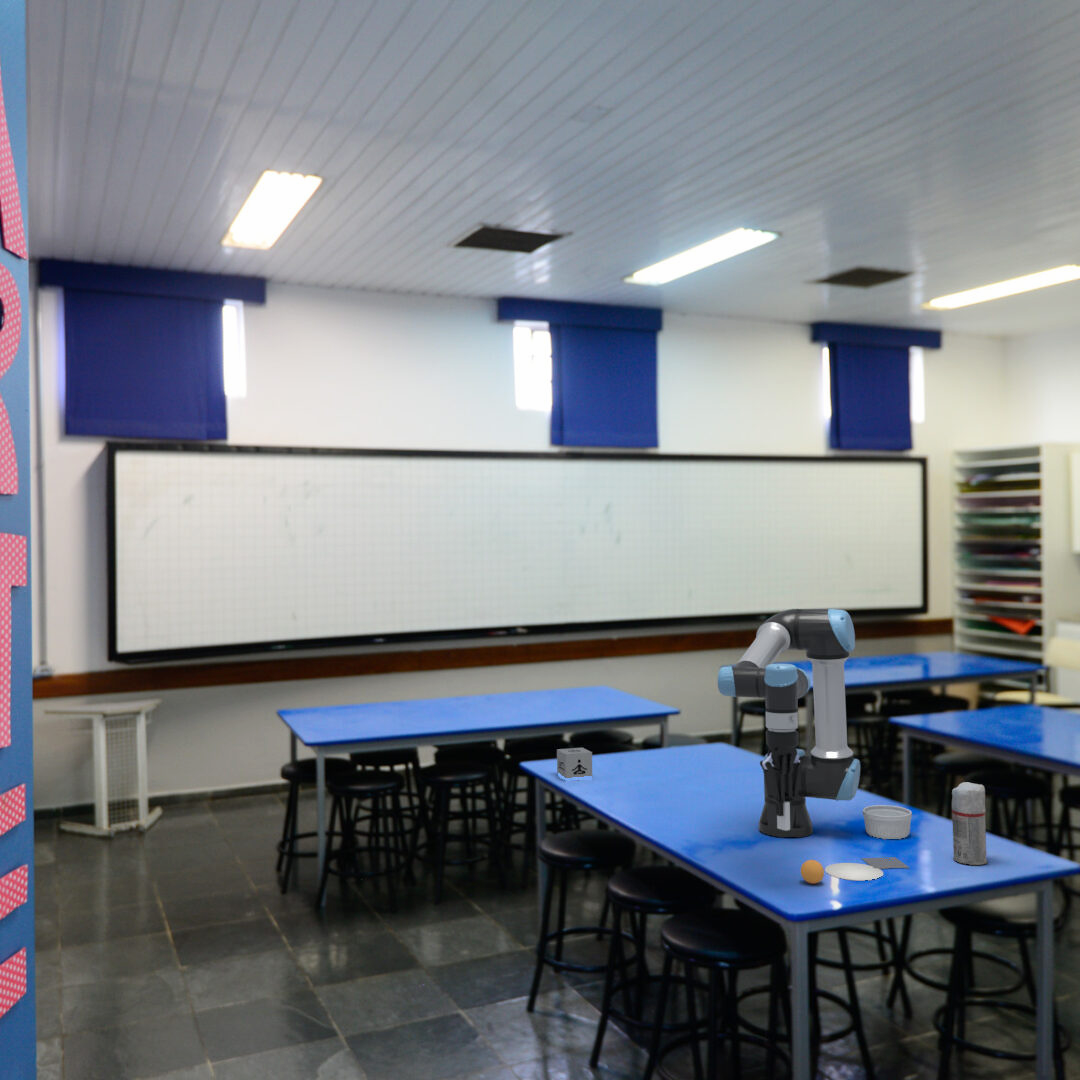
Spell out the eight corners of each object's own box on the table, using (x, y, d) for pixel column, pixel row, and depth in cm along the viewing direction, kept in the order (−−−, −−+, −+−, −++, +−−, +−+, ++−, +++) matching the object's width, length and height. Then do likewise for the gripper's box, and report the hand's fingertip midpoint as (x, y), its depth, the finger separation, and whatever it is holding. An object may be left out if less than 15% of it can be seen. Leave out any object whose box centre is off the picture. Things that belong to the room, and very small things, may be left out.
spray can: (988, 867, 256) (986, 788, 257) (953, 864, 259) (951, 786, 260) (986, 858, 264) (985, 781, 264) (952, 855, 267) (951, 779, 267)
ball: (803, 878, 250) (803, 855, 250) (826, 881, 248) (825, 858, 248) (798, 884, 245) (798, 862, 245) (821, 887, 243) (821, 864, 243)
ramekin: (880, 843, 280) (880, 818, 280) (853, 831, 293) (853, 807, 293) (922, 839, 284) (921, 814, 284) (893, 827, 296) (893, 803, 296)
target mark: (830, 861, 264) (830, 860, 264) (887, 867, 258) (887, 866, 258) (819, 876, 251) (819, 875, 251) (878, 883, 245) (878, 882, 245)
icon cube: (557, 776, 372) (556, 749, 372) (582, 774, 375) (582, 747, 375) (566, 782, 362) (565, 754, 363) (592, 780, 366) (591, 752, 366)
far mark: (861, 859, 265) (861, 858, 265) (895, 857, 266) (895, 857, 266) (874, 869, 256) (874, 868, 256) (909, 868, 257) (909, 867, 257)
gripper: (774, 734, 235) (775, 836, 235) (812, 728, 242) (814, 828, 242) (750, 730, 241) (752, 829, 241) (789, 724, 249) (791, 821, 248)
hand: (783, 828), depth 241 cm, fingers closed
